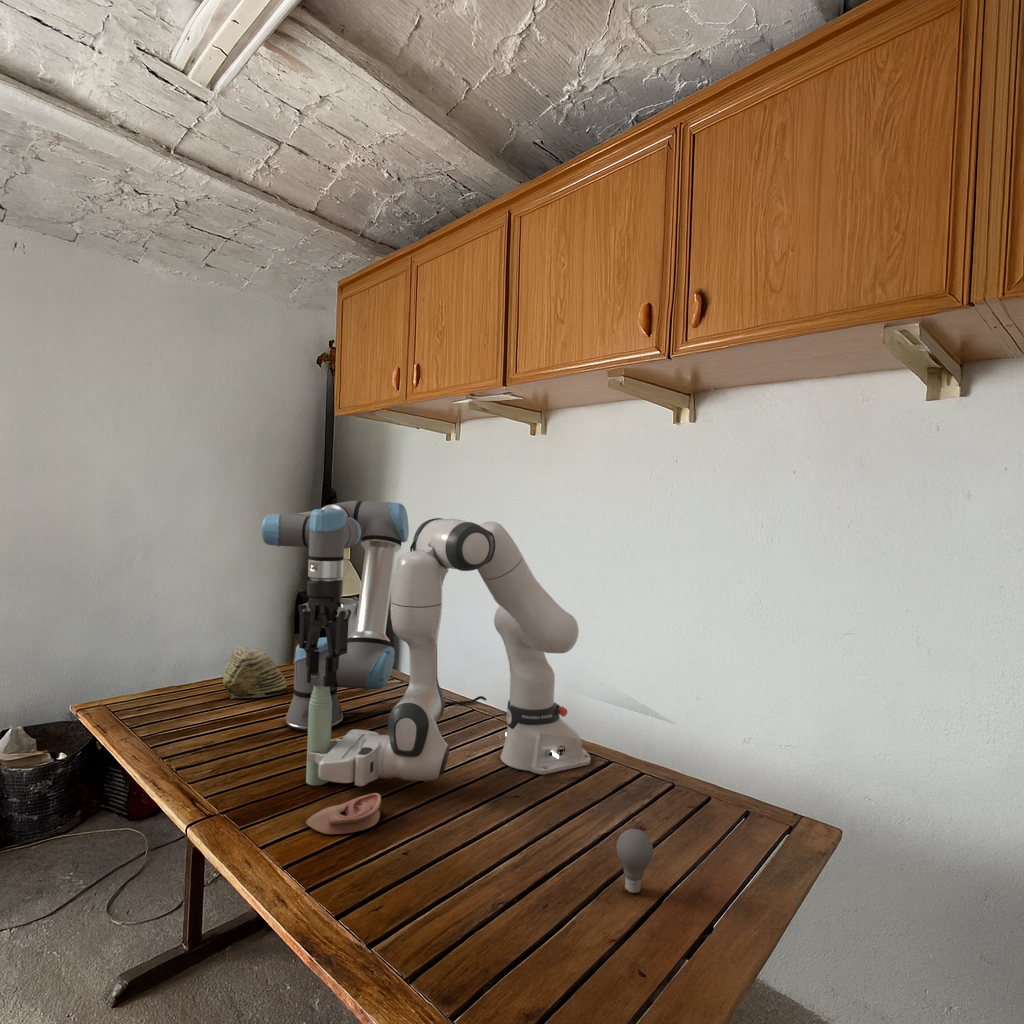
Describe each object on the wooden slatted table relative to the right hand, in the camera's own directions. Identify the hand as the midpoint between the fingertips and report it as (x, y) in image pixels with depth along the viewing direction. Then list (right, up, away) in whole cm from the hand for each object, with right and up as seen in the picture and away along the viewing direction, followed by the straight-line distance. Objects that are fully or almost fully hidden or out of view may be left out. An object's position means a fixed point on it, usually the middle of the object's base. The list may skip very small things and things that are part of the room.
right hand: (314, 750), depth 141 cm
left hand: (+2, +15, 0) cm, 15 cm away
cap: (+2, +17, 0) cm, 17 cm away
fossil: (-37, -4, +57) cm, 68 cm away
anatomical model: (+11, -8, -17) cm, 22 cm away
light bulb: (+64, -10, -35) cm, 74 cm away
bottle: (+1, -7, 0) cm, 7 cm away
